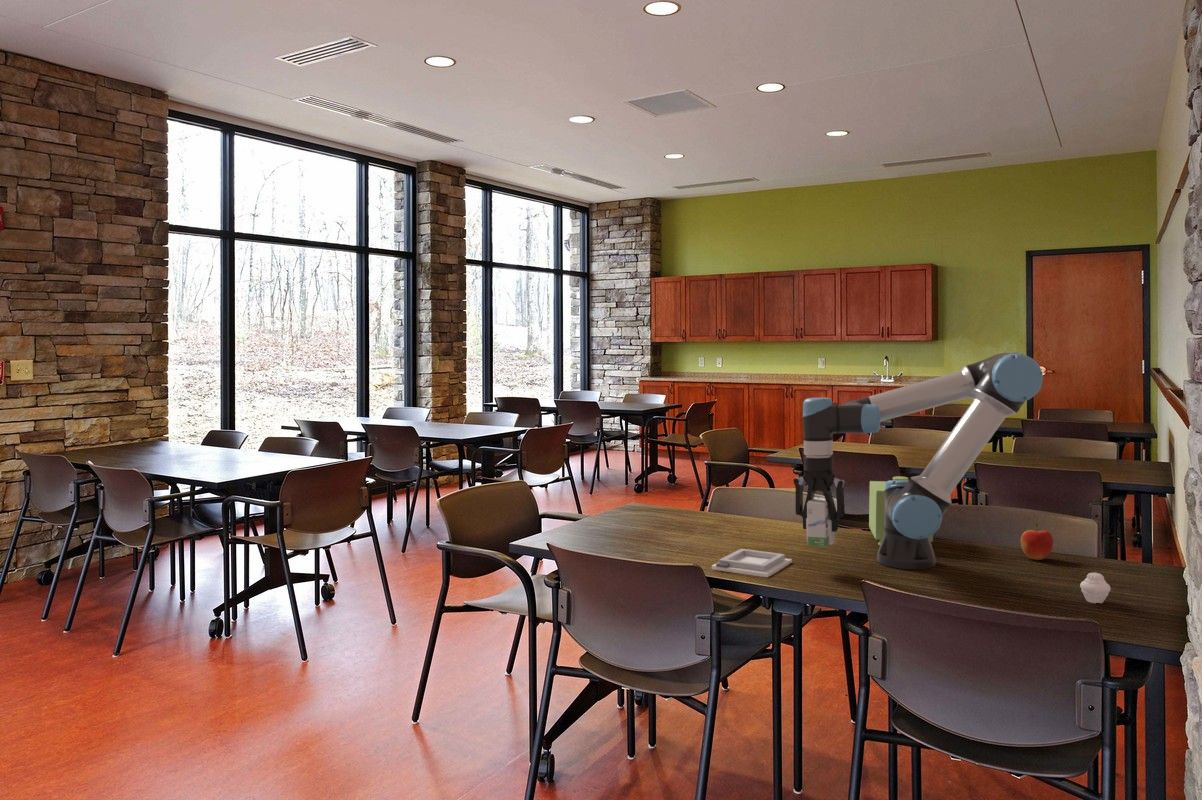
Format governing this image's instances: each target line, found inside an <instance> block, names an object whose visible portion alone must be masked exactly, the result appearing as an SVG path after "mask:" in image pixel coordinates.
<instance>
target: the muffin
mask: <svg viewBox="0 0 1202 800" xmlns="http://www.w3.org/2000/svg"><path fill="white" fill-rule="evenodd" d="M1079 587H1080V589H1081V593H1082V595H1083V596H1084V598H1085V600H1086V602H1088V603H1091V604H1096V603H1100V604H1103V603H1104V602H1105V600H1106V598H1107V597H1108V595H1109V594H1110V591H1111V589H1112V588H1111V585H1110V584H1109V583H1107V581H1106V580H1105V576H1104V575H1102V574H1101V573H1099V572H1089V573H1088V574H1087V575H1086V578H1084V580H1083V581H1081V582H1080V585H1079Z"/></svg>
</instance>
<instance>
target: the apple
mask: <svg viewBox="0 0 1202 800" xmlns="http://www.w3.org/2000/svg"><path fill="white" fill-rule="evenodd" d="M1035 525H1036V526H1038V523H1035ZM1053 539H1054V538H1053V536H1052V534H1051V532H1050V531H1049V530H1045V529H1044V530H1041V531H1040V530H1039V531H1038V530H1035V529H1027V530H1026V531H1024V532H1023V533H1022V535H1021V537H1020V545H1021V546H1020V547H1021V549H1022V552H1023V553H1024V555H1025V556H1026V557H1027V558H1028V559H1030V560H1033V559H1034V561H1041V560H1044V559H1046V558H1047V557H1048V556H1049V555H1050V553H1051V552H1052V549H1053V546H1054V540H1053Z"/></svg>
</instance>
